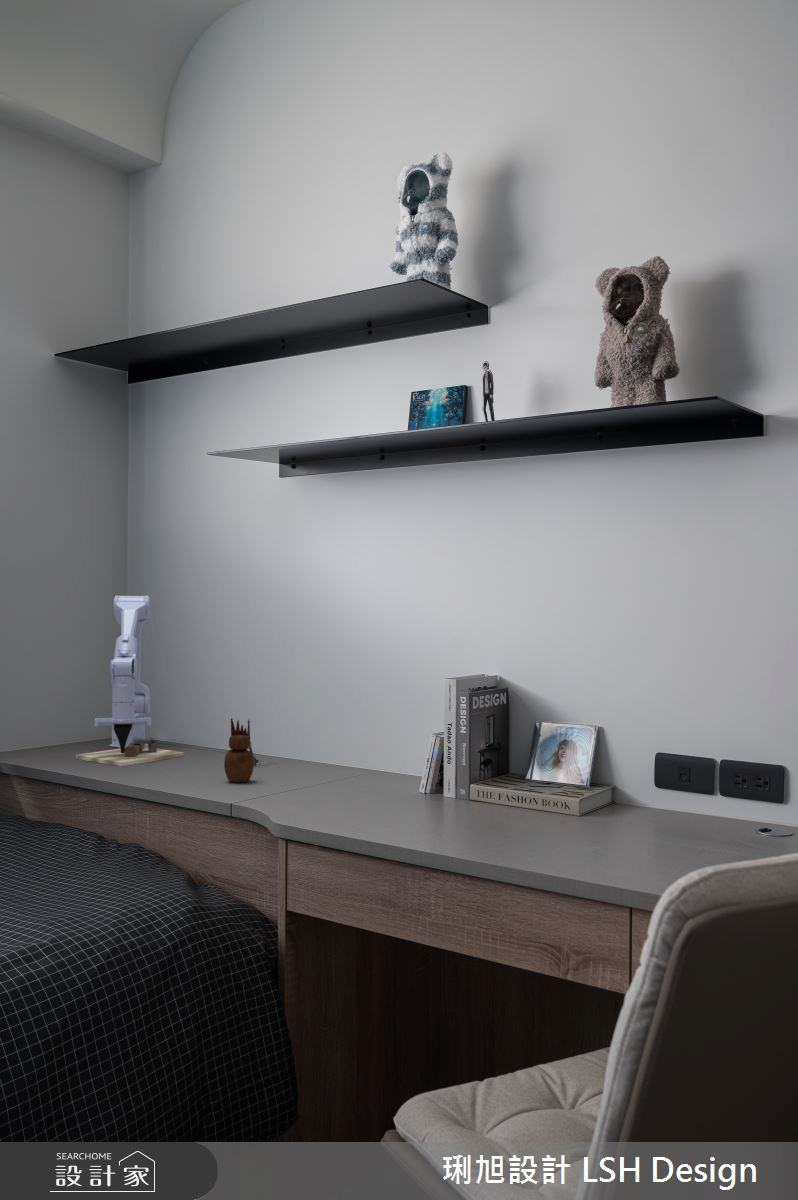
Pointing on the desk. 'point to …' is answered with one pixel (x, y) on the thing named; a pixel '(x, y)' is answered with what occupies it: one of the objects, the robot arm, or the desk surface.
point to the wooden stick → (134, 748)
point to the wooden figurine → (238, 756)
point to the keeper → (151, 743)
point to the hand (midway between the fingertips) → (122, 752)
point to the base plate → (121, 760)
